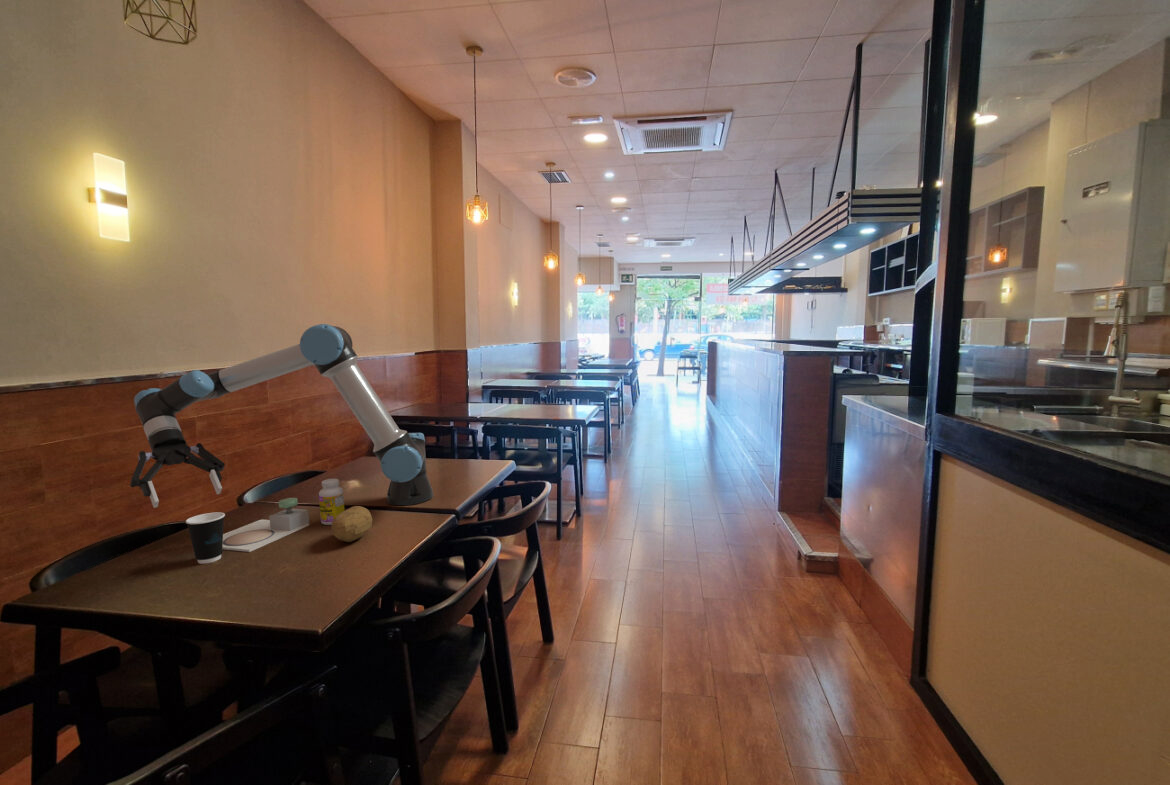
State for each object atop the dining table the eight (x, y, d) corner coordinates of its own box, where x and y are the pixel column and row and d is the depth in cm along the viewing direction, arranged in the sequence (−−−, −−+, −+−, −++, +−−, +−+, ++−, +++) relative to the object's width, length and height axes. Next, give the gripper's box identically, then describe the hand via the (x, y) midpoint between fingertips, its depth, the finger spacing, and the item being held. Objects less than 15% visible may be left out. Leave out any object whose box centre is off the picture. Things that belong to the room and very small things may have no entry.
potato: (322, 550, 132) (319, 520, 131) (345, 530, 146) (343, 503, 145) (359, 548, 132) (357, 519, 132) (379, 529, 146) (377, 502, 146)
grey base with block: (310, 524, 152) (309, 509, 152) (249, 551, 132) (248, 534, 132) (262, 520, 157) (261, 506, 156) (196, 546, 137) (195, 530, 137)
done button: (302, 518, 151) (301, 498, 151) (289, 523, 146) (287, 503, 146) (289, 517, 152) (288, 497, 152) (276, 522, 148) (274, 502, 147)
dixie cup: (201, 554, 131) (197, 513, 130) (234, 551, 133) (231, 511, 132) (182, 567, 124) (178, 524, 123) (218, 564, 125) (214, 521, 124)
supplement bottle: (315, 524, 152) (312, 482, 151) (334, 517, 158) (331, 476, 157) (332, 526, 150) (329, 484, 148) (350, 519, 156) (347, 478, 155)
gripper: (215, 437, 152) (240, 494, 145) (103, 453, 132) (125, 519, 125) (220, 421, 148) (246, 478, 141) (105, 434, 128) (128, 502, 121)
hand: (189, 497), depth 133 cm, fingers open, 13 cm apart
